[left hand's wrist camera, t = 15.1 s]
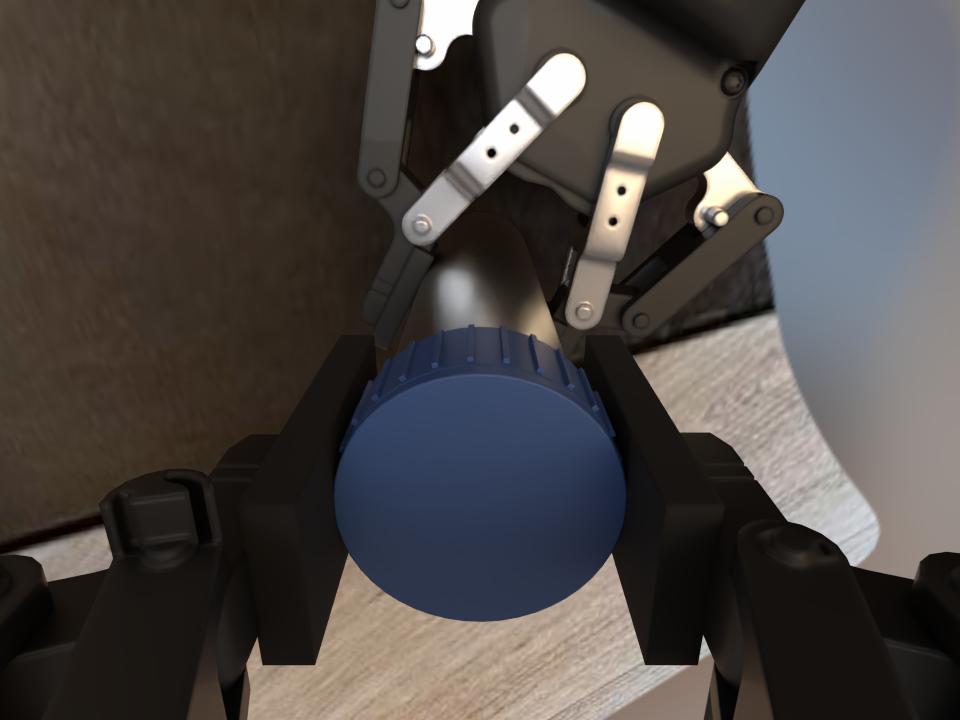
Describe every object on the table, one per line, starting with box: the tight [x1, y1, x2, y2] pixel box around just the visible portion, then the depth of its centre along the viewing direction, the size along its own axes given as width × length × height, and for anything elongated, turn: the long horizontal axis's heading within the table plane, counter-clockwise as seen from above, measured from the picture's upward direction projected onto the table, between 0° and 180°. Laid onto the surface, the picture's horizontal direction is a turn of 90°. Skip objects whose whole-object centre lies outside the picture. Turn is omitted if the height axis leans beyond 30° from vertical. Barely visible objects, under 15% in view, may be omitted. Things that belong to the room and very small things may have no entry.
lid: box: [334, 324, 627, 622], centre depth 11 cm, size 5×5×2 cm
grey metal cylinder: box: [395, 212, 565, 357], centre depth 19 cm, size 4×4×18 cm
